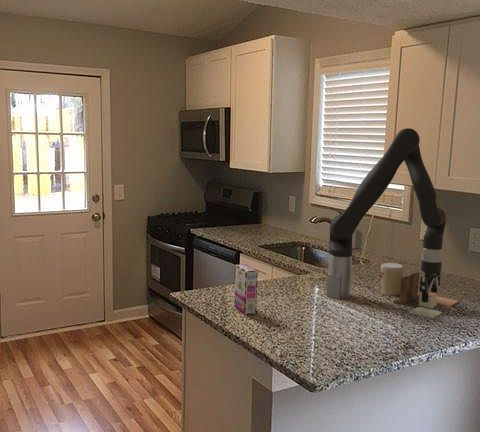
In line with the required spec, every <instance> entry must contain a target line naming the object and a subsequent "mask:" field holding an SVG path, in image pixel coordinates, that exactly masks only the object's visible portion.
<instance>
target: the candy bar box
mask: <svg viewBox="0 0 480 432" xmlns="http://www.w3.org/2000/svg"><path fill="white" fill-rule="evenodd" d="M234 274H235V276H234V277H235V279H234V280H235V281H234V306H233V307H235V308H236V310H238V311H239V312H240V313H242V314H243V315H244V316H250V315H251V316H252V315H256V314H257V304H258V303H257V302H258V301H257V300H258V275H259V271H258V270H257V269H255V267H252V266H250V265H249V264H235V273H234Z"/></svg>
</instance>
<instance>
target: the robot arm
mask: <svg viewBox="0 0 480 432" xmlns="http://www.w3.org/2000/svg"><path fill="white" fill-rule="evenodd" d="M420 140H421V138H420V136H419V133H418V132H417V131H416V130H415V129H414V128H410V127H409V128H407V127H406V128H404V129H401V130H400V131H398V132H397V133H396V135H395V137H394V138H393V140H392V141H391V144H390V146H388V148H387V150H386V152H385V153H384V154H383V156H382V157H381V158H380V159H379V160H378V162H377V163H376V164H375V165H374V166H373V167H372V169H370V170H369V172H368V173H367V174H366V176H365V177H364V179H363V180H362V181H361V182H360V183H359V186H358V187H357V188H356V191H355V193H354V195H353V197H352V199H351V201H350V203H349V204H348V206H347V207H346V208H345V210H343V212H342V213H341V214H340V215H337V216H334V218H333V219H332V220H331V221H330V227H329V242H328V243H329V245H328V246H329V251H328V252H329V254H328V273H327V275H326V292H325V293H326V294H325V295H326V297H329V298H332V299H336V300H341V299H348V298H350V296H351V283H352V282H351V281H352V263H353V235H354V233H355V231H356V230H357V228H358V227H359V224H360V223H361V221H362V220H363V218H364V217H365V215H366V214H367V213H368V212H369V211H370V210H371V208H372V207H373V206H374V205H375V204H376V202H377V201H378V200H379V199H380V198H381V196H382V195H383V194H384V192H386V190H387V188H388V187H389V186H390V184H391V182H392V180H394V177H395V175H396V173H397V171H398V169H399V168H400V166H401V165H402V164H403V162H404V164H405V165H406V168H407V172H408V174H409V176H410V177H409V178H410V180H411V183H412V184H411V185H412V187H413V190H414V193H415V197H416V198H417V201H418V206H419V207H418V208H419V212H420V216H421V220H422V222H423V224H424V225H425V226H426V231H425V233H424V234H423V241H422V242H423V243H422V252H421V258H420V259H421V263H420V270H421V271H422V272H424V276H422V275H421V276H420V277H419V280H420V281H419V288H418V292H420V293H422V302H426V303H427V302H428V292H433V293H438V289H439V287H440V285H441V272H442V268H443V267H442V266H443V240H444V239H443V238H444V233H445V227H446V224H447V215H446V213H445V210H443V209H441V208H438V205H437V197H438V196H437V193H436V191H435V187H434V184H433V182H432V179H431V177H430V175H429V172H428V171H427V169H426V167H425V164H424V160H423V158H422V154H421V148H420Z"/></svg>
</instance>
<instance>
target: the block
mask: <svg viewBox="0 0 480 432" xmlns="http://www.w3.org/2000/svg"><path fill="white" fill-rule="evenodd" d="M437 296H438V292H437V293H433V292H431V291H429V292H428V302H427V303H426V302H422V292H420V293H419V299H418V301H419V302H418V306H419V307H424V308H428V309H434V308H435V307H436V306H437V305H438V304H437ZM437 307H438V306H437Z"/></svg>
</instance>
